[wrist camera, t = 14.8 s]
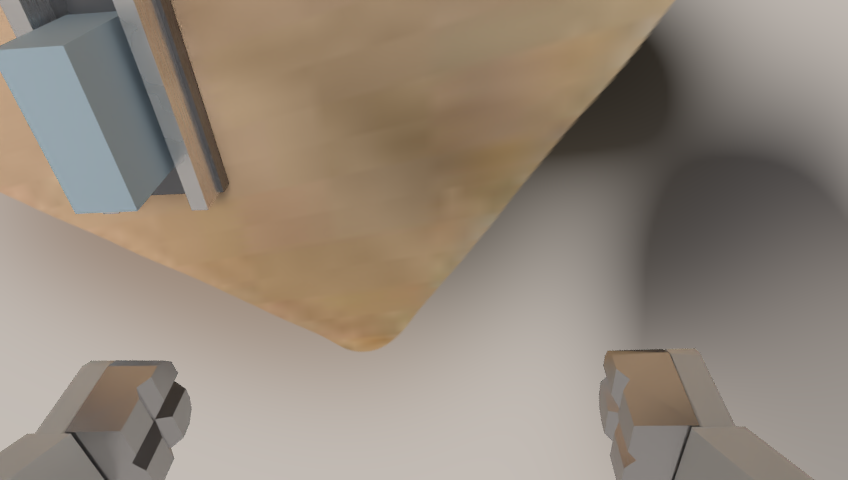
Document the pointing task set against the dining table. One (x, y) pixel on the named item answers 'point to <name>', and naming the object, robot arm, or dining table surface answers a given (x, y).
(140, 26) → the door track
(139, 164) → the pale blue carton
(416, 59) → the dining table surface
